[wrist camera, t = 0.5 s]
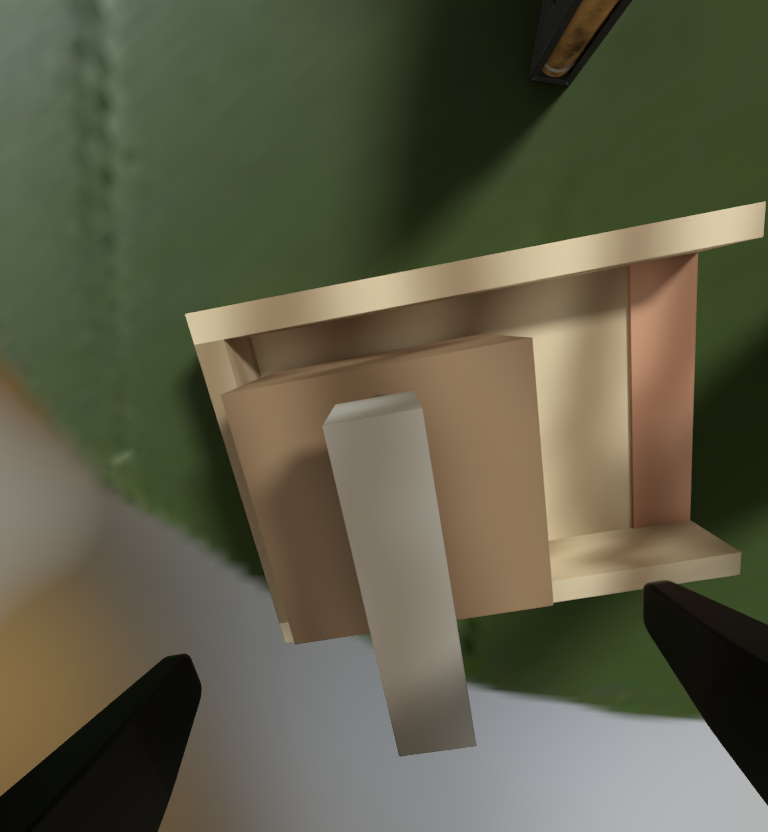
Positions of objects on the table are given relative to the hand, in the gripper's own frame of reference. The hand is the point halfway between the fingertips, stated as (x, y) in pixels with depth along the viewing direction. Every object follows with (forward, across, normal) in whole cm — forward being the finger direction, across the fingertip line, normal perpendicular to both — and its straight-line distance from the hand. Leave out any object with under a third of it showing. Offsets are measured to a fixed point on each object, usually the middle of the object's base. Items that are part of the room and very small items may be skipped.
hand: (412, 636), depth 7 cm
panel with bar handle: (+12, 0, 0) cm, 12 cm away
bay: (+13, -4, 0) cm, 13 cm away
